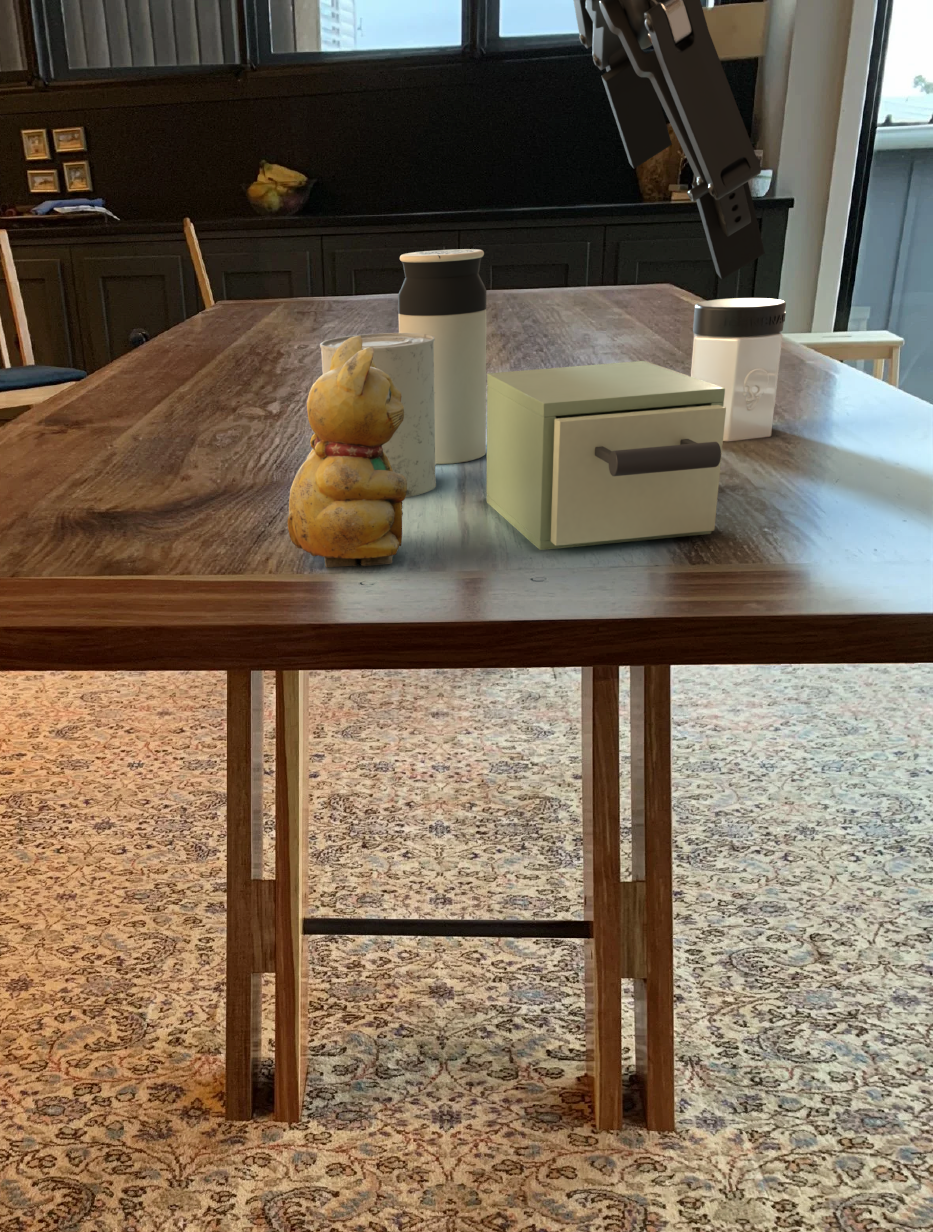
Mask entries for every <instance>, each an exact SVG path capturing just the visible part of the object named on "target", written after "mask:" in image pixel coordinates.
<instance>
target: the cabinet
mask: <svg viewBox="0 0 933 1232" xmlns="http://www.w3.org/2000/svg"><path fill="white" fill-rule="evenodd" d="M724 395H725V388H722V387H719V386H716V385H714V384H711V383H708V382H705V381H702V380H699V379H696V378H693V377H690V375H687V374H684V373H681V372H678V371H676V370H672V369H669V368H666V367H664V366H661V365H658V364H655V363H653V362H649V361H646V360H637V361H623V362H612V363H600V364H598V363H597V364H588V365H587V364H586V365H575V366H561V367H560V366H559V367H551V368H550V367H549V368H538V369H537V368H535V369H526V370H525V369H524V370H514V371H513V370H511V371H499V372H489V373H486V503H487V504H488V506H490V507H491V508H492V509H493V510H494V511H496V512H497V513H498V514H499V515H500V516H501V517H502V518H503V519H504V520H506V521H507V522H508V523H509V524H510V525H511V526H512V527H513V528H514V529H516V530H517V531H518V532H519V533H520V534H521V535H522V536H523V537H525V538H526V539H527V540H528V541H529V542H530V543H531V544H532V545H533V546H535V547H536V548H537V549H538V550H539V551H545V550H546V551H547V550H553V549H554V550H556V549H565V548H576V547H586V546H587V547H588V546H595V545H607V544H617V543H628V542H639V541H649V540H659V539H669V538H678V537H690V536H701V535H711V534H712V531H704V532H694V533H683V534H673V535H662V536H652V537H642V538H631V539H621V540H610V541H600V542H590V543H579V544H569V545H558V546H556V545H554V544H553V543H552V542H551V516H552V485H553V453H554V422H555V419H556V416H563V415H575V414H586V413H598V412H610V411H622V410H633V409H645V408H657V407H669V406H681V405H692V404H693V405H696V406H710V405H720V406H723V405H724Z"/></svg>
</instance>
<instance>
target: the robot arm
mask: <svg viewBox="0 0 933 1232" xmlns="http://www.w3.org/2000/svg"><path fill="white" fill-rule="evenodd" d="M573 6H574V12H575V17H576V18H575V19H576V23H577V29H578V30H577V31H578V34H579V36H578V38H579V41H580V43H581V45H583V46H584V48H586V49H589V48H591V47H592V50H591V51H592V55H591V56H592V61H593V63H594V65H595V67H597V68H598V69H599V71H602V70H604V69H605V70H606V72H605V73H603V74H601V79H602V82H603V85H604V88H605V92H606V95H607V98H608V101H609V104H610V107H611V111H612V113H613V116H614V120H615V122H616V125H617V128H618V132H619V135H620V138H621V141H622V144H623V148H624V151H625V155H626V156H627V159H628V163H629V164H630V165H629V166H631V167H632V168H633V169H634V170H636V169H637V168H638V167H639V166H641V165H643V164H644V163H646V162H647V161H649V160H651V159H652V158H653V157H655V156H656V155H658V154H660V153H661V152H663V151H664V150H666V149H668V148H669V147H670V146H672V145H673V143H672V140H671V136H670V133H669V129H668V125H667V121H666V118H665V115H666V117H667V119H668V122H669V123H670V126H671V128H672V130H673V133H674V134H675V136H676V138H677V140H678V143H679V145H680V146H681V149H682V151H683V153H684V155H685V157H686V160H687V162H688V164H689V167H690V168H691V170H692V173H693V175H694V177H695V179H696V180H695V181H693V182H691V186H692V188H690V189H689V190H688V191H687V193H686V195H687V196H688V198H689V200H690V201H691V203H692V202H693V203H694V202H696V204H697V208H698V211H699V215H700V219H701V222H702V225H703V226H702V227H703V229H704V233H705V237H706V240H707V244H708V247H709V251H710V254H711V258H712V262H713V265H714V268H715V273H716V274H717V276H718V277H719V278H720V279H721V280H723V279H725V278H727V277H729V276H730V275H732V274H733V273H735V272H737V271H739V270H740V269H742V268H744V267H745V266H747V265H749V264H750V263H752V262H753V261H755V260H757V259H759V258H760V257H762V256H764V255H765V254H766V252H765V248H764V243H763V239H762V235H761V230H760V227H759V223H758V218H757V213H756V210H755V209H756V208H755V206H754V201H753V198H752V197H753V196H752V192H751V188H750V183H749V182H750V181H751V180H753V179H754V178H755V177H758V175H761V174H762V173H761V172H762V167H761V161H760V159H759V158H758V157H757V154H756V152H755V149H754V147H753V144H752V141H751V139H750V137H749V134H748V130H747V128H746V126H745V123H744V120H743V118H742V115H741V113H740V110H739V107H738V105H737V102H736V99H735V97H734V94H733V91H732V89H731V85H730V84H729V80H728V78H727V76H726V72H725V70H724V67H723V65H722V62H721V59H720V56H719V54H718V52H717V49H716V46H715V44H714V41H713V39H712V36H711V33H710V30H709V27H708V24H707V19H706V16H705V12H704V9H703V5H702V1H701V0H573ZM651 46H652V47H653V50H652V51H650V52H647V53H646V52H645V51H644V50H646V49H649V48H650V47H651ZM662 108H663V109H662ZM663 110H664V112H665V114H664V112H663Z"/></svg>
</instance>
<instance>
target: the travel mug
mask: <svg viewBox="0 0 933 1232" xmlns="http://www.w3.org/2000/svg"><path fill="white" fill-rule="evenodd" d="M484 255H485V252H484V250H483V249H476V248H475V249H474V248H471V249H470V248H464V249H463V248H462V249H461V248H460V249H457V248H456V249H437V250H424V251H415V252H414V251H413V252H408V253H407V252H406V253H403V254H401V255H400V256H399V260H400V261H401V263H402V266H403V272H404V277H405V278H404V280H403V283H402V285H401V288H400V290H399V292H398V294H397V304H398V305H397V307H398V308H397V310H398V333H419V334H427V335H432V336H434V337H435V341H434V406H435V465H453V464H461V463H468V462H472V461H475V460H478V459H481V458H482V457H483V456H485V455H487V288H486V286H485V284H484V282H483V280H482V278H481V276H480V274H479V273H480V267H481V261H482V258H483V257H484Z"/></svg>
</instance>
